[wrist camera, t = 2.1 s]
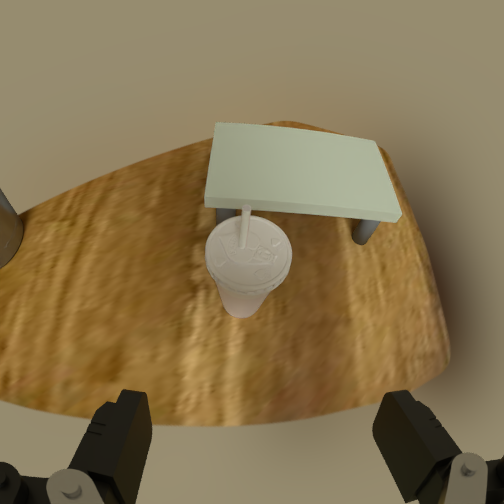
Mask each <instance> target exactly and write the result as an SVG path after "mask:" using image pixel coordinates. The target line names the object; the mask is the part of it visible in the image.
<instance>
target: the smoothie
mask: <svg viewBox="0 0 504 504" xmlns="http://www.w3.org/2000/svg"><path fill="white" fill-rule="evenodd" d="M291 260H292V248H291V244H290V242H289V240H288V238H287V236H286V234H285V233H284V232H283V231H282V230H281V229H280V228H279V227H278V226H277V225H276V224H274V223H273V222H271V221H269V220H267V219H264V218H261V217H257V216H251V206H250V205H244V206H243V207H242V215H241V216H236V217H232V218H229V219H227V220H225V221H223V222H221V223H220V224H219V225H217V226H216V227H215V228H214V229H213V231H212V232H211V233H210V235H209V237H208V239H207V242H206V247H205V261H206V266H207V269H208V271H209V273H210V275H211V277H212V278H213V279H214V280H215V281H216V285H217V288H218V291H219V294H220V297H221V300H222V303H223V306H224V308H225V310H226V311H227V312H228V313H229V314H230V315H231V316H233V317H236V318H247V317H250V316H251V315H253V314H254V313H255V312H256V311H257V310H258V308H259V307H260V305H261V304H262V303H263V301H264V300H265V299H266V297H267V296H268V294H269V293H270V292H271V290H273V289H275V288H276V287H277V286H278V285H280V284H281V283H282V282H283V281H284V279H285V277H286V276H287V274H288V272H289V269H290V264H291Z"/></svg>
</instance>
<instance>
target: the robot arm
mask: <svg viewBox="0 0 504 504" xmlns="http://www.w3.org/2000/svg"><path fill="white" fill-rule="evenodd" d="M22 237H23V223H22V220H21V219H20V218H19V216H18V215H17V213H16V212H15V210H14V209H13V207H12V206H11V204H10V203H9V201H8V200H7V198H6V197H5V195H4V193H3V192H2V190H1V189H0V268H1V267H3V266H4V265H5V264H6V263H7V262H8V261H9V260H10V259H11V258H12V257H13V256H14V254H15V252H16V251H17V249H18V247H19V245H20V243H21V240H22ZM372 431H373V437H374V440H375V442H376V444H377V446H378V448H379V450H380V452H381V454H382V456H383V458H384V460H385V462H386V464H387V466H388V468H389V470H390V472H391V474H392V476H393V478H394V480H395V482H396V484H397V486H398V488H399V491H400V493H401V495H402V497H403V499H404V501H405V503H408V502H411V501H414V500H417V499H418V501H419V503H420V504H504V456H503V457H502V459H498V460H491V461H484V459H483V458H481V457H480V456H478V455H477V454H474V453H462V451H461V450H460V449H459V447H458V446H457V445H456V443H455V442H454V441H453V439H452V438H451V437H450V435H449V434H448V433H447V431H446V430H445V428H444V427H442V425H441V423H440V422H439V420H437V419H436V416H435V415H434V414H433V412H432V411H431V410H430V409H429V408H428V407H427V406H425V405H424V404H422V403H421V402H420V401H415V399H414V398H413V397H412V395H411V394H410V392H409V391H407V390H400V391H394V392H387V393H386V394H385V395H384V397H383V399H382V402H381V405H380V407H379V410H378V413H377V415H376V418H375V420H374V423H373V430H372ZM151 439H152V422H151V416H150V411H149V405H148V399H147V394H146V393H145V392H139V391H132V390H126V389H123V390H122V391H121V393H120V395H119V397H118V400H117V402H116V403H113V402H108V401H107V402H106V403H105V404H104V405H102V406H101V407H100V408H99V409H97V410H96V412H95V414H94V416H93V418H92V420H91V424H89V426H88V428H87V431H86V433H85V434H84V436H83V438H82V440H81V442H80V444H79V446H78V448H77V450H76V452H75V455H74V457H73V459H72V461H71V463H70V465H69V467H68V468H67V469H63V470H60V471H57V472H55V473H54V474H53V475H52V476H51V477H50V478H39V477H38V478H37V477H29V476H21V475H20V474H19V473H18V471H17V470H16V469H15V468H14V467H13V466H12V465H10V464H8V463H5V462H0V504H135V503H136V499H137V495H138V490H139V486H140V482H141V478H142V474H143V470H144V466H145V463H146V459H147V454H148V451H149V447H150V443H151Z"/></svg>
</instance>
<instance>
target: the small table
mask: <svg viewBox="0 0 504 504" xmlns="http://www.w3.org/2000/svg"><path fill="white" fill-rule="evenodd" d="M204 201H205V207H210V208H216V226H217V225H219V224H220V223H221V222H223V221H225V220H227V219H229V218H232V217H235V214H236V209H242V207H243V206H244V205H250V206H251V210H260V211H275V212H288V213H301V214H313V215H325V216H336V217H346V218H357V219H361V221H360V222H359V224H358V226H357V227H356V229H355V231H354V232H353V234H352V239H353V241H354V242H355V243H357V244H359V245H364V244H366V242H367V241H368V239H369V238H370V236H371V235H372V234H373V232H374V231H375V229H376V228H377V226H378V225H379V223H380V222H381V221H385V222H394V223H396V222H397V221H398V219H399V218H400V217H401V215H402V212H401V209H400V206H399V203H398V200H397V197H396V194H395V192H394V189H393V186H392V183H391V180H390V178H389V175H388V172H387V170H386V167H385V165H384V162H383V160H382V157H381V155H380V152H379V150H378V147H377V145H376V142H375V141H372V140H367V139H361V138H356V137H350V136H345V135H338V134H332V133H326V132H319V131H311V130H304V129H296V128H287V127H277V126H267V125H255V124H242V123H225V122H216V125H215V131H214V137H213V143H212V149H211V156H210V162H209V168H208V175H207V182H206V189H205V196H204Z"/></svg>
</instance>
